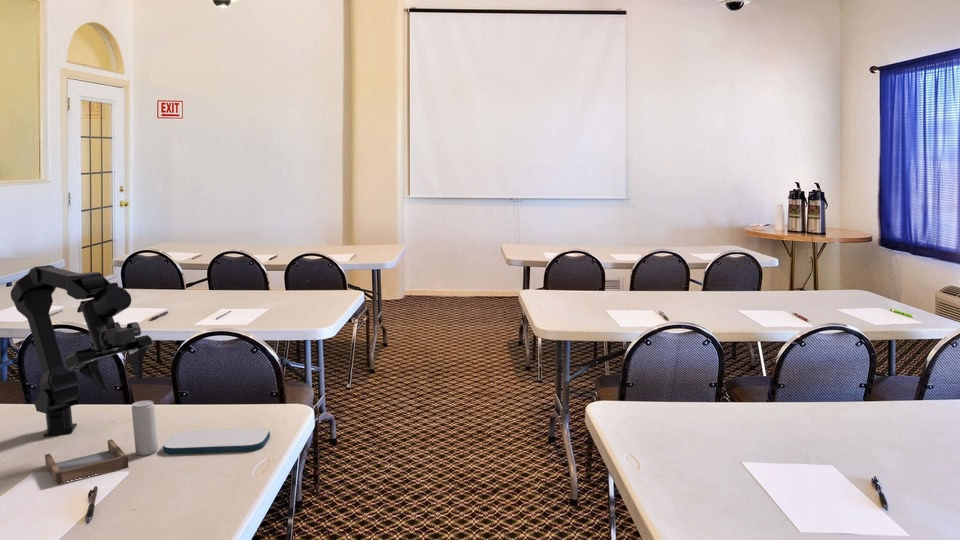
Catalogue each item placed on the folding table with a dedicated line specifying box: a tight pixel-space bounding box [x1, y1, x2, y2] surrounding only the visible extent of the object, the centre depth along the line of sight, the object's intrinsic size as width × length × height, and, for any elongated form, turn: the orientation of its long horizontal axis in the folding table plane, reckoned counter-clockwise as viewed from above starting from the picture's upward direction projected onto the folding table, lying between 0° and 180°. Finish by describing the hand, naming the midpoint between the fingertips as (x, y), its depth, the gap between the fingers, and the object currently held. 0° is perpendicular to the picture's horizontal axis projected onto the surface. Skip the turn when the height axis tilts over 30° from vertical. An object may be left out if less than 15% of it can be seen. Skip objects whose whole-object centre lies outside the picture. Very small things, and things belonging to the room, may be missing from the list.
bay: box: [44, 439, 129, 485], centre depth 163 cm, size 14×14×2 cm
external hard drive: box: [162, 428, 271, 455], centre depth 175 cm, size 24×12×2 cm, turn 93°
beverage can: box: [131, 399, 159, 457], centre depth 170 cm, size 5×5×12 cm
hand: (122, 385), depth 170 cm, fingers open, 9 cm apart
